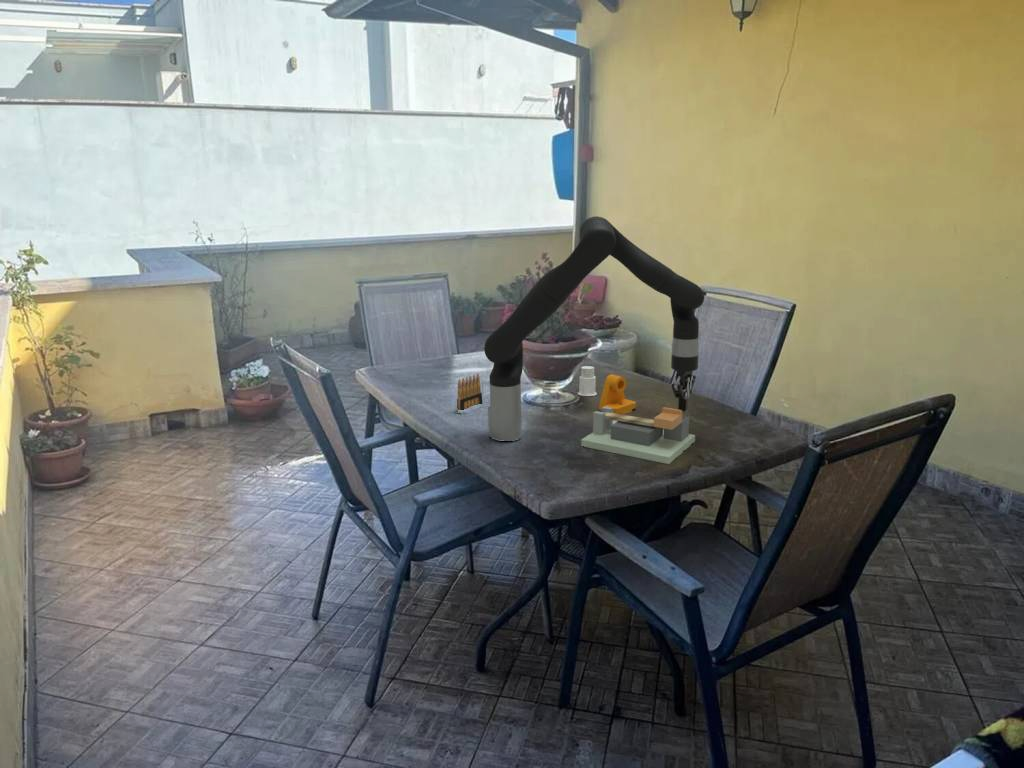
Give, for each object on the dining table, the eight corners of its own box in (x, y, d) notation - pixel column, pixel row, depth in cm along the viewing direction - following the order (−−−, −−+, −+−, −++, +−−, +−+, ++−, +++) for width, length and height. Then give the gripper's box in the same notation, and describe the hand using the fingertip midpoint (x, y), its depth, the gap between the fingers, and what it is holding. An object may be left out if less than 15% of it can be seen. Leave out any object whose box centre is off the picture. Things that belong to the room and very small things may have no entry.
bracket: (615, 417, 233) (616, 381, 230) (599, 412, 239) (599, 377, 235) (637, 409, 240) (637, 375, 237) (620, 405, 245) (621, 371, 242)
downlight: (591, 398, 253) (592, 370, 251) (573, 395, 257) (574, 368, 254) (600, 393, 260) (601, 366, 258) (582, 390, 263) (583, 364, 261)
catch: (653, 426, 200) (654, 413, 199) (663, 419, 206) (663, 407, 204) (672, 429, 197) (672, 416, 196) (681, 422, 203) (682, 410, 202)
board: (581, 446, 209) (581, 418, 206) (611, 426, 225) (612, 400, 222) (668, 464, 194) (670, 434, 192) (694, 441, 210) (696, 414, 208)
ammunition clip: (461, 414, 239) (459, 380, 236) (457, 413, 241) (455, 379, 237) (482, 406, 247) (481, 373, 244) (478, 405, 248) (477, 372, 245)
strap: (598, 418, 213) (598, 413, 213) (603, 415, 215) (603, 410, 215) (671, 430, 201) (671, 425, 200) (675, 427, 203) (675, 422, 203)
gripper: (689, 359, 197) (686, 418, 202) (705, 349, 207) (703, 406, 212) (663, 356, 201) (661, 414, 206) (681, 346, 211) (679, 402, 216)
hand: (682, 410), depth 209 cm, fingers closed
